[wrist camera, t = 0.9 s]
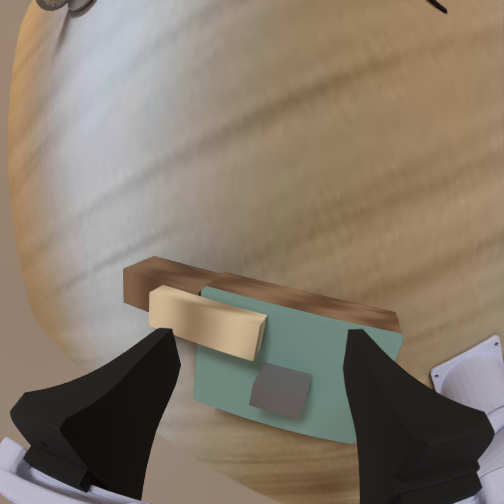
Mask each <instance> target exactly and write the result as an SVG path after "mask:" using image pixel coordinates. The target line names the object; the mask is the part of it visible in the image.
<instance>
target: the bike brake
mask: <svg viewBox="0 0 504 504" xmlns="http://www.w3.org/2000/svg"><path fill="white" fill-rule="evenodd" d="M430 1H431V2H432V3H433V4H434V5H435V6H436V7H437V8H439V9H440V10H441V11H443V12H444V13H446V11H447V9H446V8H444V7H443V6H442V5H441V4H439V3H438V2H437V1H436V0H430Z"/></svg>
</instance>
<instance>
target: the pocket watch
mask: <svg viewBox="0 0 504 504" xmlns="http://www.w3.org/2000/svg"><path fill="white" fill-rule="evenodd" d="M36 2H37V4H38V5H39V6H40V7H41V8H42V9H44V10H47V11H54V10H57V9H59V8H61V7H63V6H64V5H65V4H66V3H68V8H69V10H71V11H78V10H81V9H82V8H84V7H85V6H86V5H87V4H89V3H90V2H91V0H54V1H53V0H36Z"/></svg>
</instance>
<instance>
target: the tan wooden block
mask: <svg viewBox="0 0 504 504" xmlns="http://www.w3.org/2000/svg"><path fill="white" fill-rule="evenodd" d="M266 318H267V315H265V314H261V313H258V312H254V311H250V310H247V309H243V308H239V307H236V306H232V305H229V304H225V303H222V302H218V301H215V300H211V299H208V298H204V297H201V296H198V295H194V294H191V293H188V292H184V291H181V290H178V289H175V288H172V287H168V286H165V285H162V286H160V287H158V288H157V289H155V290H153V291H151V292H150V293H149V326H152V327H154V328H157V329H158V328H172V329H173V334H174V335H175V336H178V337H181V338H183V339H186V340H189V341H192V342H195V343H198V344H201V345H203V346H206V347H209V348H212V349H215V350H218V351H221V352H225V353H228V354H231V355H234V356H237V357H240V358H244V359H247V360H250V361H254V359H255V357H256V356H257V354H258V352H259V350H260V349H261V344H262V339H263V334H264V329H265V323H266Z"/></svg>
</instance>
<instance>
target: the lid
mask: <svg viewBox="0 0 504 504" xmlns="http://www.w3.org/2000/svg"><path fill="white" fill-rule="evenodd" d="M201 297H204V298H208V299H211V300H215V301H218V302H222V303H225V304H229V305H232V306H236V307H239V308H243V309H247V310H250V311H254V312H258V313H261V314H265V315H267V318H266V323H265V329H264V334H263V339H262V344H261V349H260V350H259V352H258V354H257V356H256V357H255V359H254V361H250V360H247V359H244V358H240V357H237V356H234V355H231V354H228V353H225V352H221V351H218V350H215V349H212V348H209V347H206V346H203V345H201V344H198V343H197V350H196V365H195V381H194V399H193V400H196V401H198V402H201V403H204V404H206V405H209V406H212V407H214V408H217V409H220V410H223V411H226V412H229V413H232V414H235V415H238V416H241V417H244V418H247V419H250V420H253V421H256V422H260V423H263V424H267V425H270V426H274V427H277V428H281V429H285V430H288V431H292V432H296V433H300V434H304V435H309V436H313V437H318V438H322V439H327V440H332V441H337V442H342V443H348V444H354V442H355V440H356V439H357V438H356V433H355V428H354V423H353V419H352V415H351V411H350V407H349V402H348V398H347V394H346V390H345V383H344V374H343V363H344V356H345V349H346V342H347V334H348V329H363V330H364V331H365V332H366V333H367V334H368V335H369V336H370V337H371V338H372V339H373V340H374V341H375V342H376V343H377V345H378V346H379V347H380V348H381V349H382V350H383V351H384V352H385V353H386V354H387V355H388V356H389V357H390V358H391V359H392V360H393V361H395V360H396V357H397V355H398V352H399V350H400V347H401V345H402V342H403V340H404V339H403V336H402V333H397V332H392V331H387V330H383V329H378V328H373V327H369V326H364V325H360V324H355V323H351V322H346V321H342V320H337V319H333V318H329V317H325V316H320V315H316V314H312V313H308V312H304V311H300V310H296V309H292V308H288V307H284V306H280V305H276V304H272V303H268V302H264V301H260V300H256V299H253V298H249V297H245V296H241V295H238V294H234V293H230V292H227V291H223V290H219V289H216V288H212V287H209V286H206V287H205V288H203V289H202V290H201Z"/></svg>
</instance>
